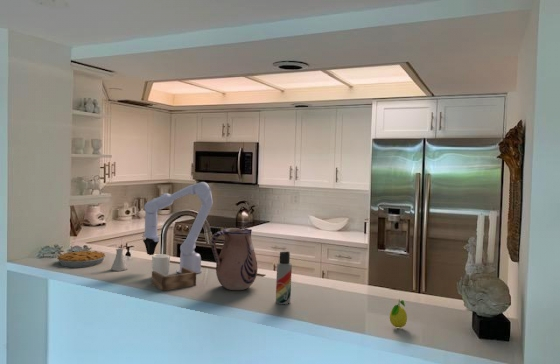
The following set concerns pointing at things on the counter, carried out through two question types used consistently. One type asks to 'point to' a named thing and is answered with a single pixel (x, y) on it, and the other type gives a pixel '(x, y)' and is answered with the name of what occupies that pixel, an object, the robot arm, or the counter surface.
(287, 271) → the lotion bottle
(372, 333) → the counter surface
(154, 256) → the white cup
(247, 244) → the ceramic pitcher
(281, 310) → the counter surface
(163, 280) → the wooden box
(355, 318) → the counter surface
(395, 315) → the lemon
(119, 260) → the flask
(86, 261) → the pie
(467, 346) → the counter surface
